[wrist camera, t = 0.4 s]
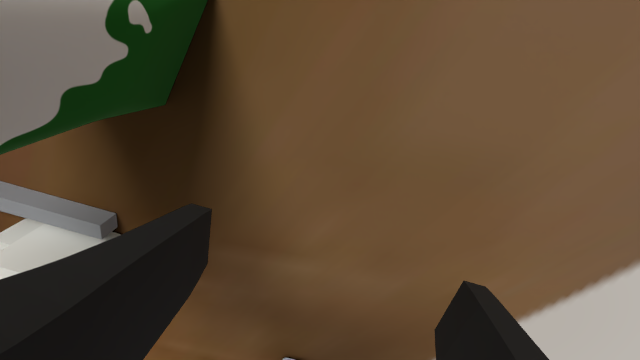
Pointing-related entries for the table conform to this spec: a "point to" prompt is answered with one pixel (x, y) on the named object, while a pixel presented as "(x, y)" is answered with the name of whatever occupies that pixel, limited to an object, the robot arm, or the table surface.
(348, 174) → the table surface
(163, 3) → the milk carton
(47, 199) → the forklift
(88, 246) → the white block
